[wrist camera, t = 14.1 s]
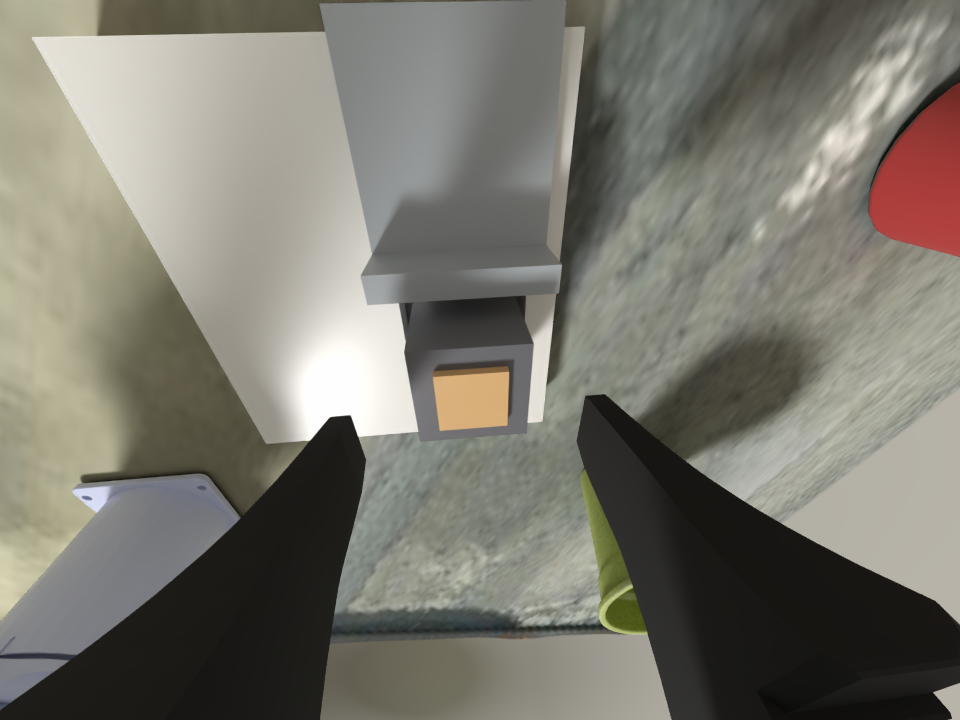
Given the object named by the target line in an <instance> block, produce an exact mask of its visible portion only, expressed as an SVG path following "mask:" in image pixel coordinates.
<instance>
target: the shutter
mask: <svg viewBox="0 0 960 720" xmlns="http://www.w3.org/2000/svg"><path fill="white" fill-rule="evenodd" d="M319 5H320V10H321V15H322V19H323V24H324V29H325V33H326V38H327V43H328V48H329V52H330V57H331V62H332V67H333V71H334V76H335V81H336V86H337V90H338V95H339V100H340V105H341V109H342V114H343V119H344V124H345V128H346V133H347V138H348V143H349V147H350V152H351V157H352V162H353V166H354V171H355V176H356V180H357V185H358V190H359V195H360V199H361V204H362V209H363V214H364V218H365V223H366V228H367V233H368V237H369V242H370V247H371V252H372V256H371V257H370V259H369V261H368V263H367V265H366V267H365V268H364V270H363V272H362V274H361V276H360V277H361V281H362V285H363V289H364V293H365V297H366V302H367V305H379V304H395V303H411V302H428V301H444V300H460V299H476V298H493V297H509V296H525V295H542V294H558V293H559V288H560V279H561V271H562V264H561V262H560V261H559V260H558V259H557V258H556V256H555V255H554V254H553V253H552V251H551V250H550V249H549V248H548V247H547V245H546V243H547V231H548V219H549V207H550V195H551V184H552V172H553V160H554V148H555V136H556V124H557V112H558V100H559V88H560V76H561V64H562V52H563V40H564V29H565V17H566V5H567V0H520V1H453V2H387V3H320V4H319Z"/></svg>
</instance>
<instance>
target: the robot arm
mask: <svg viewBox="0 0 960 720" xmlns="http://www.w3.org/2000/svg"><path fill="white" fill-rule="evenodd" d="M577 444H578V447H579V451H580V454H581V458H582V461H583V464H584V467H585V470H586V473H587V475H588V478H589V480H590V482H591V484H592V487H593V489H594V491H595V494H596V496H597V498H598V500H599V503H600V505H601V507H602V509H603V512H604V514H605V516H606V518H607V521H608V523H609V525H610V527H611V530H612V532H613V534H614V536H615V539H616V541H617V544H618V546H619V549H620V551H621V554H622V556H623V559H624V562H625V565H626V568H627V571H628V574H629V577H630V580H631V583H632V586H633V589H634V592H635V595H636V598H637V601H638V605H639V608H640V611H641V614H642V617H643V620H644V623H645V627H646V630H647V633H648V637H649V640H650V644H651V647H652V650H653V654H654V657H655V661H656V664H657V667H658V671H659V674H660V678H661V682H662V686H663V689H664V693H665V697H666V700H667V704H668V708H669V712H670V715H671V719H672V720H949V719H952V717H951V713H950V712H949V711H948V709H947V708H946V707H945V706H944V705H943V704H942V702H941V701H940V700H939V699H938V698H937V697H936V696H935V694H934V693H933V692H935V691H938V690H941V689H944V688H946V687H949V686H952V685H955V684H958V683H960V625H959V624H958V622H956V621H955V620H954V619H953V618H952V617H951V616H950V615H949V614H948V613H947V612H946V611H945V610H944V609H943V608H942V607H941V606H940V605H939V604H938V603H937V602H936V601H934V600H932V599H930V598H928V597H926V596H924V595H922V594H919V593H917V592H915V591H913V590H911V589H909V588H907V587H904V586H902V585H900V584H898V583H895V582H894V581H892V580H890V579H888V578H885V577H883V576H881V575H879V574H877V573H875V572H873V571H871V570H869V569H866V568H864V567H862V566H860V565H858V564H856V563H854V562H852V561H850V560H848V559H846V558H844V557H842V556H840V555H838V554H837V553H835V552H833V551H831V550H829V549H827V548H825V547H823V546H821V545H819V544H817V543H815V542H814V541H812V540H810V539H808V538H806V537H804V536H802V535H801V534H799V533H797V532H795V531H793V530H792V529H790V528H788V527H786V526H784V525H783V524H781V523H779V522H778V521H776V520H774V519H773V518H771V517H769V516H768V515H766V514H764V513H762V512H761V511H759V510H757V509H756V508H754V507H752V506H751V505H749V504H748V503H746V502H744V501H743V500H741V499H739V498H738V497H736V496H735V495H733V494H732V493H730V492H729V491H727V490H726V489H724V488H723V487H721V486H720V485H718V484H717V483H715V482H714V481H712V480H711V479H709V478H708V477H706V476H705V475H704V474H702V473H701V472H699V471H698V470H697V469H695V468H694V467H693V466H691V465H690V464H689V463H687V462H686V461H684V460H683V459H682V458H680V457H679V456H678V455H676V454H675V453H674V452H673V451H671V450H670V449H669V448H668V447H666V446H665V445H664V444H663V443H661V442H660V441H659V440H658V439H656V438H655V437H654V436H653V435H652V434H650V433H649V432H648V431H647V430H646V429H644V428H643V427H642V426H641V425H640V424H638V423H637V422H636V421H635V420H634V419H633V418H632V417H630V416H629V415H628V414H627V413H626V412H625V411H623V410H622V409H621V408H620V407H619V406H618V405H617V404H615V403H614V402H613V401H612V400H611V399H610V398H608V397H607V396H606V395H605V394H602V395H590V396H585V401H584V406H583V411H582V416H581V421H580V426H579V431H578V437H577ZM365 463H366V458H365V456H364V453H363V450H362V447H361V444H360V441H359V438H358V435H357V432H356V429H355V426H354V423H353V420H352V417H351V415H345V416H333V417H330V418H329V419H328V420H327V421H326V422H325V423H324V424H323V426H322V427H321V428H320V429H319V430H318V432H317V433H316V434H315V435H314V437H313V438H312V439H311V440H310V441H309V443H308V444H307V445H306V446H305V447H304V449H303V450H302V451H301V452H300V453H299V455H298V456H297V457H296V458H295V459H294V460H293V462H292V463H291V464H290V465H289V466H288V467H287V469H286V470H285V471H284V472H283V473H282V474H281V476H280V477H279V478H278V479H277V480H276V481H275V482H274V483H273V485H272V486H271V487H270V488H269V489H268V490H267V491H266V492H265V493H264V494H263V495H262V496H261V497H260V498H259V499H258V501H257V502H256V503H255V504H254V505H253V506H252V507H251V508H250V509H249V510H248V511H247V512H246V513H245V514H244V515H243V516H242V517H241V518H240V516H239V515H238V514H237V513H236V511H235V510H234V509H233V507H232V506H231V505H230V504H229V502H228V501H227V500H226V499H225V497H224V496H223V495H222V493H221V492H220V491H219V490H218V488H217V487H216V486H215V485H214V483H213V482H212V481H211V479H210V478H209V477H208V476H206V475H204V474H188V475H176V476H164V477H152V478H141V479H129V480H117V481H105V482H94V483H82V484H78V485H77V486H76V487H74V488H73V489H72V492H73V494H74V495H76V496H77V497H78V498H79V499H80V500H82V501H83V502H84V503H85V504H86V505H88V506H89V507H90V508H91V509H92V510H94V511H95V512H96V514H95V515H94V517H93V518H92V519H91V520H90V521H89V522H88V523H87V524H86V526H85V527H84V528H83V529H82V530H81V531H80V532H79V533H78V535H77V536H76V537H75V538H74V539H73V540H72V541H71V542H70V544H69V545H68V546H67V547H66V548H65V549H64V550H63V551H62V553H61V554H60V555H59V556H58V557H57V558H56V559H55V560H54V562H53V563H52V564H51V565H50V566H49V567H48V568H47V569H46V571H45V572H44V573H43V574H42V575H41V576H40V577H39V578H38V580H37V581H36V582H35V583H34V584H33V585H32V586H31V587H30V589H29V590H28V591H27V592H26V593H25V594H24V595H23V596H22V598H21V599H20V600H19V601H18V602H17V603H16V604H15V605H14V607H13V608H12V609H11V610H10V611H9V612H8V613H7V614H6V616H5V617H4V618H3V619H2V620H1V621H0V720H320V714H321V706H322V698H323V690H324V681H325V673H326V665H327V658H328V651H329V645H330V638H331V631H332V624H333V618H334V611H335V605H336V599H337V593H338V587H339V582H340V577H341V573H342V568H343V564H344V560H345V556H346V553H347V549H348V545H349V541H350V537H351V533H352V529H353V525H354V521H355V518H356V514H357V510H358V506H359V502H360V497H361V493H362V487H363V480H364V472H365Z"/></svg>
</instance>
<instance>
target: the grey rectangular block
mask: <svg viewBox="0 0 960 720" xmlns="http://www.w3.org/2000/svg"><path fill="white" fill-rule="evenodd" d="M533 349H534V343H533V340H532V338H531V335H530V333H529V330H528V328H527V325H526V323H525V320H524V318H523V315H522V313H521V310H520V308H519V305H518V303H517V300H516V298H515V296H509V297H493V298H476V299H460V300H444V301H428V302H413V304H412V310H411V315H410V321H409V327H408V332H407V338H406V344H405V349H404V355H405V361H406V366H407V372H408V377H409V383H410V388H411V394H412V399H413V405H414V410H415V416H416V421H417V427H418V432H419V438H420V442H421V441H433V440H446V439H459V438H471V437H484V436H496V435H509V434H522V433H527V422H528V410H529V398H530V386H531V373H532V361H533Z"/></svg>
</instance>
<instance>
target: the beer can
mask: <svg viewBox="0 0 960 720" xmlns="http://www.w3.org/2000/svg"><path fill="white" fill-rule="evenodd" d="M868 212H869V216H870V218H871V220H872V222H873V224H874V227H875V228H876V230H877V231H879V232H880V233H882V234H884V235H886V236H887V237H889V238H891V239H894V240H898V241H901V242H905V243H909V244H913V245H917V246H920V247H924V248H928V249H932V250H936V251H939V252H943V253H947V254H951V255H954V256H958V257H960V82H959V83H958V84H956V85H954V86H953V87H951V88H950V89H948V90H947V91H946V92H945V93H943V94H942V95H941V96H940V97H939V98H937V99H936V100H935V101H934V102H933V103H931V104H930V105H929V106H928V107H927V108H925V109H924V110H923V111H922V112H921V113H919V114H918V115H917V117H916V118H915V119H914V120H913V121H912V122H911V123H910V124H909V126H908V127H907V128H906V129H905V130H904V131H903V132H902V134H901V135H900V136H899V137H898V138H897V139H896V140H895V142H894V143H893V145H892V146H891V148H890V150H889V151H888V153H887V154H886V156H885V158H884V159H883V161H882V162H881V164H880V165H879V167H878V170H877V172H876V175H875V178H874V180H873V183H872V185H871V188H870V191H869V206H868Z"/></svg>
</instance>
